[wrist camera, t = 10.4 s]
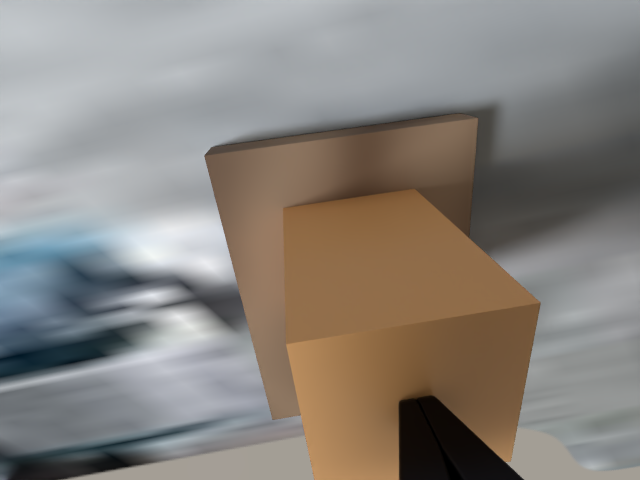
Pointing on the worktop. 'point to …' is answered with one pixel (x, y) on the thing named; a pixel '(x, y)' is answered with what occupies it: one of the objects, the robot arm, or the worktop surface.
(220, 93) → the worktop surface
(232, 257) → the wooden holder
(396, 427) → the kraft paper carton
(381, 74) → the worktop surface
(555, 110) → the worktop surface
